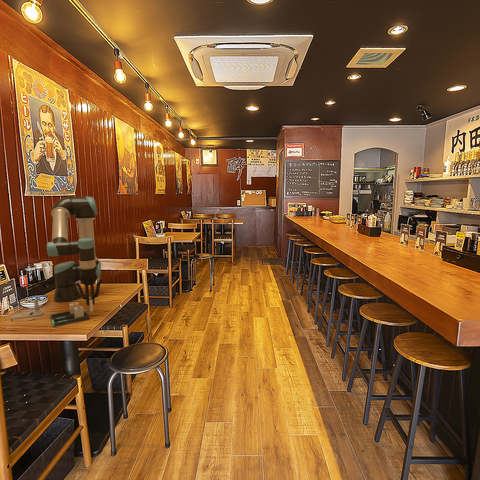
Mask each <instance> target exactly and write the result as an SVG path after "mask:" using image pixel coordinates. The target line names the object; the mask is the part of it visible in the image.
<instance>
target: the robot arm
mask: <svg viewBox="0 0 480 480" xmlns="http://www.w3.org/2000/svg"><path fill="white" fill-rule="evenodd" d="M50 211H51V212H50V215H51V217H52V228H51V229H52V231H51V232H52V233H51V234H52V235H51V241H49V242H46V253H47V256H49V257H62V256H64V257H65V256H71V255H73V256H75V255H78V263H76V262H75V261H74V260H73V261H72V260H70V261H64V262H61V263H58V264H56V265H54V269H53V270H54V273H53V274H54V281H55V282H54V283H55V290H54V294H53V301H54V302H56V303H67V302H74V301H76V300H78V299H80V298H82V300H85V302H86V304H85V305H86V306H87V307H88V311H89V312H90V313H92V312H94V305H96V304H95V303H96V302H95V299H96V298H98V297H99V294H100V289H101V284H102V282H103V279H102V278H101V270H102V262H101V261H100V260H99V258H98V257H97V256H96V244H95V233H94V232H95V230H94V220H95V219H96V216H97V215H98V213H99V212H98V208H97V204H96V200H95V198H94V197H93V196H65V197H61V198H60V199H58V200H57V201H55V203H54V204H53V205H52V207H51V210H50ZM70 216H74V218H75V220H76V221H77V225H78V237H79V239H78V240H69V224H68V223H69V220H68V219H69V217H70ZM95 283H96V286H95ZM81 284H83V286H84V289H85V290H84V289H83V288H82V285H81ZM89 288H90V290H89ZM84 291H85V293H84ZM89 293H90V294H89Z"/></svg>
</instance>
